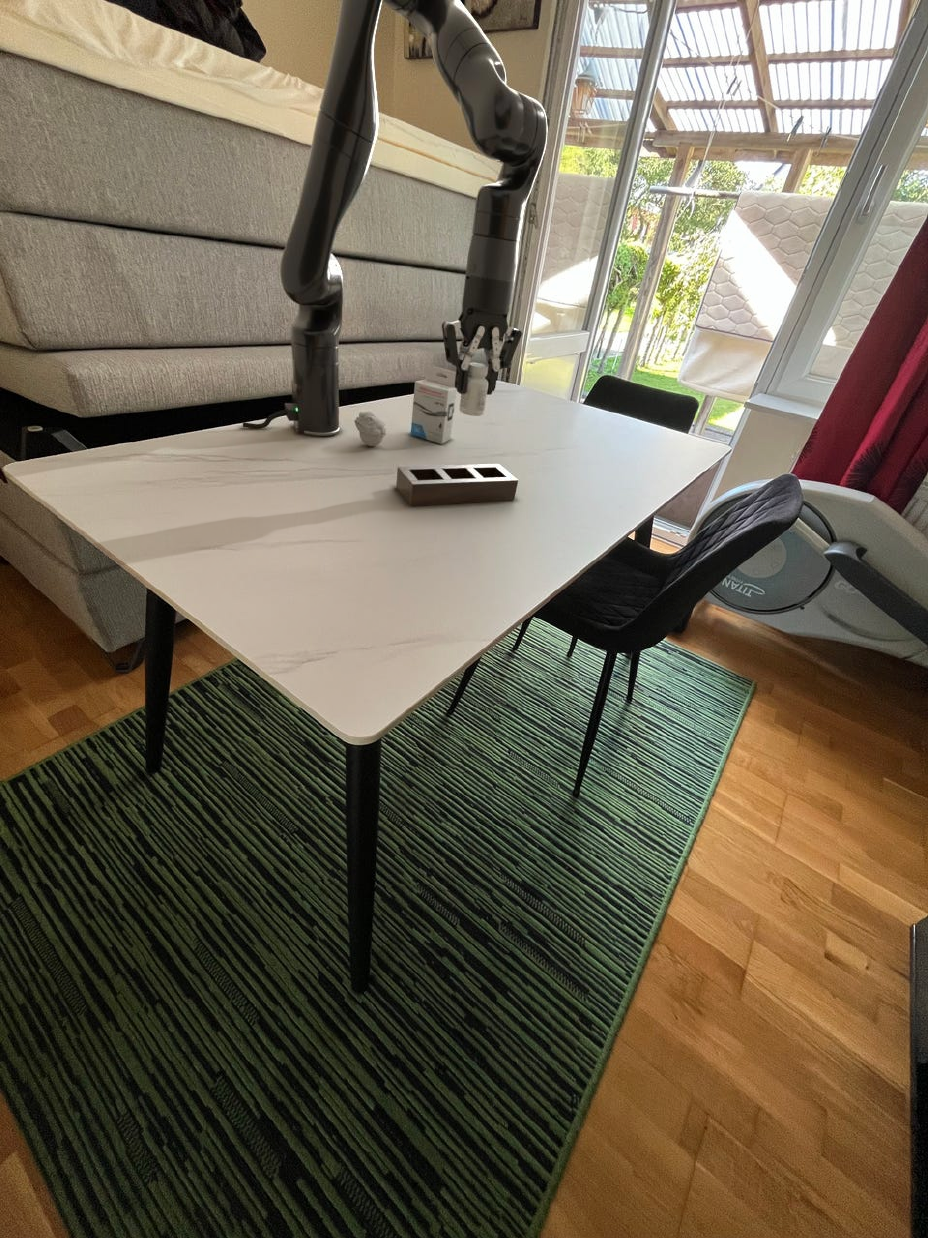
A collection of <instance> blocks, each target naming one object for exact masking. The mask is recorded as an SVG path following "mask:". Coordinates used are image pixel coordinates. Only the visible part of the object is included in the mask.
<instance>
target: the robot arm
mask: <svg viewBox="0 0 928 1238" xmlns="http://www.w3.org/2000/svg"><path fill="white" fill-rule="evenodd" d="M383 3H384V4H385V5H386V6H387V7H388V8H389V9H390V10H392V11H393V12H394V13H396V14H399V15H400V16H401V17H403V18H404V19H405V20H406V21H408V22H409V23H410V24H411V26H413V27H415V29H416V30H418V31H419V32H420V33H421V34H422V36H423V37H424V38H425V40H426V41H427V43H428V44H429V46H430V48H431V53H432V58H433V61H434V64H435V67H436V69H437V71H438V73H439V75H440V76H441V78H442V80H443V82H444V84H445V85H446V87H447V88H448V90H449V91H450V93H451V94H452V95H453V97H454V99H455V100H456V102H457V103H458V105H459V106H460V108H461V113H462V116H463V119H464V122H465V125H466V128H467V131H468V134H469V137H470V139H471V140H472V143H473V144H474V146H475V147H476V149H478V151H479V152H481V154H482V155H484V156H485V157H486V158H489V159H490V160H495V161H496V162H500V163H502V164H501V167H500V171H499V173H498V176H497V179H496V181H495V182H493V183H488V184H484V185H482V186H480V188H479V189H478V191H477V194H476V198H475V204H474V213H473V222H472V231H471V237H470V238H471V239H470V243H469V246H468V251H467V257H466V258H467V259H466V268H465V277H464V284H463V295H462V303H461V304H462V305H461V306H462V307H461V308H462V310H461V314H460V315H459V317H458V319H457V320H455V321H451V322H449V321H443V322H442V324H441V330H442V338H443V346H444V353H445V360H446V362H448V363H449V364H451V365H452V366H455V372H456V377H455V388H456V389H457V393H458V394H459V395H461V394H465V393H466V387H467V379H468V372H469V371H468V370H467V368H468V366H469V363H471V361H472V358H474V357H475V355H476V352H477V350H481V349H483V351H484V355H485V358H486V359H485V361H486V365H487V366H488V374H487V376H485V379H486V380H487V381H488V390H487V396H488V395H489V396H490V395H491V396H492V394H493V392H495V390H496V387H497V386H496V384H497V379H498V373H499V372H500V370H502V369H509V367H510V365H511V364H512V361H513V358H514V355H515V354H516V351H517V349H518V346H519V344H520V341H521V338H522V335H523V332H522V330H520V329H517V328H515V327H511V326H510V325H509V321H508V315H509V312H510V310H511V304H512V297H513V292H514V285H515V280H516V279H515V278H516V274H517V267H518V260H519V244H520V243H519V242H520V237H521V231H522V226H523V217H524V211H525V207H526V204H527V201H528V199H529V196H530V194H531V192H532V189H533V186H534V183H535V180H536V178H537V175H538V173H539V169H540V167H541V164H542V161H543V157H544V155H545V151H546V147H547V141H548V120H547V115H546V111H545V109H544V107H543V105H542V104H541V103H540V102H539V101H538V100H537V99H535V98H533V97H530V96H528V95H526V94H524V93H521V92H520V91H517V90H515V89H513V88H510V86H508V85H507V75H506V69H505V65H504V63H503V61H502V59H501V57H500V55H499V53H498V52H497V50H496V49H495V47H494V45H493V44H492V43H491V41H490V40H489V38H488V37H487V35H486V34H485V32H484V31H483V30H482V28H481V27H480V25H479V24H478V22H477V21H476V20H475V19H474V17H473V16H472V15H471V13H470V12H469V11H468V9H467V8H466V7H465V5H464V4H463V3H462V1H461V0H341V1H340V7H339V14H338V19H337V27H336V32H335V37H334V41H333V47H332V53H331V56H330V62H329V67H328V71H327V77H326V81H325V84H324V89H323V92H322V97H321V100H320V104H319V108H318V113H317V117H316V122H315V126H314V131H313V135H312V141H311V146H310V152H309V156H308V160H307V166H306V170H305V173H304V178H303V183H302V188H301V191H300V192H301V193H300V198H299V201H298V205H297V210H296V213H295V217H294V220H293V222H292V225H291V228H290V232H289V235H288V236H287V237H288V238H287V240H286V244H285V247H284V249H283V252H282V256H281V260H280V266H279V275H280V282H281V286H282V288H283V291H284V293H285V294H286V296H287V297H288V298H289V299H290V300H291V301H292V302H294V303H295V304H296V305H298V310H297V314H296V318H295V319H294V321H293V322H292V323H291V326H290V348H291V363H292V365H291V366H292V368H291V369H292V379H291V381H290V382H291V401H292V402H288V403H287V402H285V403H284V409H283V410H280V411H277V412H274V413H272V414H270V415H268V416H267V417H266V419H265V420H264V421H263V422H262V423H252V422H244V421H243V422H242V428H248V429H255V430H260V429H264V428H267V427H268V426H269V425H270V423H271V422H272V421H273V420H275V419H278V418H279V417H284V416H286V418H287V420H288V421H289V422H293V426H294V428H295V430H296V432H297V434H298V435H307V436H311V437H312V436H313V437H331V436H334V435H337V434H339V433H340V392H339V390H340V386H339V384H340V383H339V380H340V378H339V374H340V373H339V371H340V370H339V369H340V367H339V361H340V360H339V359H340V358H339V338H340V334H341V331H342V326H343V313H344V312H343V308H344V279H343V272H342V269H341V266H340V262H339V261H338V259H337V258H336V256H335V255H334V254H333V253H332V249H333V246H334V243H335V240H336V239H335V238H336V235H337V232H338V229H339V227H340V224H341V223H342V220H343V218H344V217H345V215H346V214H347V212H348V210H349V209H350V207H351V205H352V203H353V202H354V200H355V198H356V197H357V195H358V193H359V191H360V189H361V188H362V186H363V184H364V181H365V179H366V176H367V174H368V170H369V167H370V163H371V160H372V157H373V153H374V149H375V144H376V142H377V138H378V132H379V106H378V104H379V103H378V93H377V83H376V73H375V52H374V51H375V41H376V32H377V27H378V22H379V17H380V12H381V9H382V4H383ZM459 331H460V332H461V334H462V336H463V337H462V340H461V342H460V345H459V348H458V342H457V341H458V340H457V337H458V336H459ZM503 337H504V338H503ZM502 338H503V339H504V341H503V344H502V347H500V341H501V340H502Z"/></svg>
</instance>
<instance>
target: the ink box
mask: <svg viewBox="0 0 928 1238" xmlns="http://www.w3.org/2000/svg"><path fill="white" fill-rule="evenodd" d="M437 374H443V376H446V377H442V376H439V375H437ZM455 377H456V371H453V370H449V369H446V368H443V367H438V366H433V365H432V364H431V365H430V364H427V365H425V374H424V378H423V379H420V380H416V381H415V382H414V389H413V401H412V412H411V413H412V414H411V423H410V424H411V425H410V435H411V436H414V437H417V438H419V439H424V440H427V441H430V442H433V443H437V444H440V445H443V444H445V443H447V442H448V441H450V440H451V437H452V429H453V424H454V423H453V422H454V414H455V407H456V399H457V393H458V392H457V389H456V388H455Z"/></svg>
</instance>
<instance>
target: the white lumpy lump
mask: <svg viewBox="0 0 928 1238" xmlns="http://www.w3.org/2000/svg"><path fill="white" fill-rule="evenodd" d="M353 421H354V425H355V427H356V430H357V431H358V432H359V433H358V434H359V438H360V440H361V442H362V443H363V444H364V445H366V446H368V447H375V446H378V445H380V443H381V442H382V441H383V438H384V437H385V436H386V432H387V428H386V423H385V421H383V420H382V419H381V418H379V417H378V416H376V415H375V414H374V413H373V412H371V411H365V412H364V411H360V412H359V413H358V416H357V417H356V418H355V419H354V420H353Z"/></svg>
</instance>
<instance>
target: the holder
mask: <svg viewBox="0 0 928 1238" xmlns="http://www.w3.org/2000/svg"><path fill="white" fill-rule="evenodd" d="M396 468H397V469H396V486H395V487H396V489H397V490H398V492H399V493H400V494H401V495H402V497H403V498H404V500H405V501H406V502H407V503H408V504H409V506H410V507H421V506H435V505H436V506H437V505H454V504H456V505H457V504H471V503H472V504H473V503H486V502H487V503H489V502H490V503H491V502H505V501H515V499H516V493H517V488H518V483H519V479H518V478H516V477H515V476H514V475H513V474H511V473H510V472H509V471H508V470H507V469H506V468H504V467H503V466H502V465H501V464H500V463H487V464H486V463H484V464H483V463H482V464H449V465H448V464H446V465H406V466H404V465H403V466H397V467H396Z"/></svg>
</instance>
